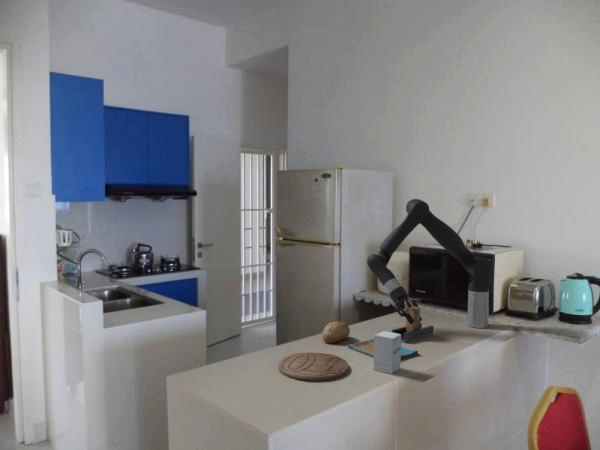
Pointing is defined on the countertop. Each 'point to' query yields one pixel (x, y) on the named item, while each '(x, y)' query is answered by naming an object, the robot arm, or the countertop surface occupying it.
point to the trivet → (313, 367)
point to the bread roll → (335, 332)
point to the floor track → (414, 333)
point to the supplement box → (387, 352)
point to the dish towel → (368, 349)
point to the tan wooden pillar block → (415, 315)
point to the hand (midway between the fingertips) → (416, 321)
